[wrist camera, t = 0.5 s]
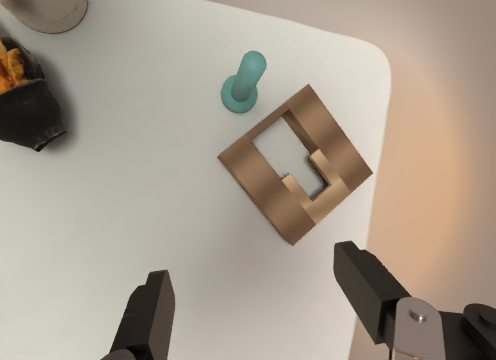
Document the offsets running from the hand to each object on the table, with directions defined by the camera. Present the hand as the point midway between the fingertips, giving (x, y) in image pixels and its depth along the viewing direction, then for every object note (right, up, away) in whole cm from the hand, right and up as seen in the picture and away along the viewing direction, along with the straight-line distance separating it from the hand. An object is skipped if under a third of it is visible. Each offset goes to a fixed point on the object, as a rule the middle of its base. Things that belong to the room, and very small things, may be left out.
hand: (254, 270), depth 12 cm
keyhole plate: (+6, +6, +27) cm, 29 cm away
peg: (-2, +16, +26) cm, 30 cm away
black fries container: (-29, +16, +21) cm, 39 cm away
